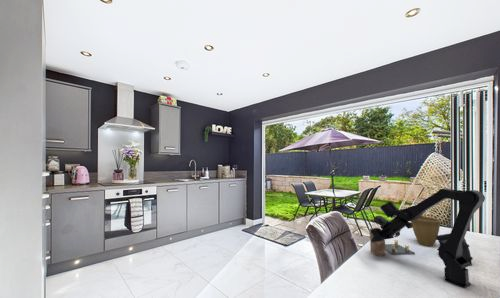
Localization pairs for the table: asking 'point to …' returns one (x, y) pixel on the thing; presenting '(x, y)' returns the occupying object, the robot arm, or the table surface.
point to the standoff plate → (398, 249)
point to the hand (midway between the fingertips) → (374, 240)
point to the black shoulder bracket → (464, 246)
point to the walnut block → (377, 246)
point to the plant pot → (426, 230)
